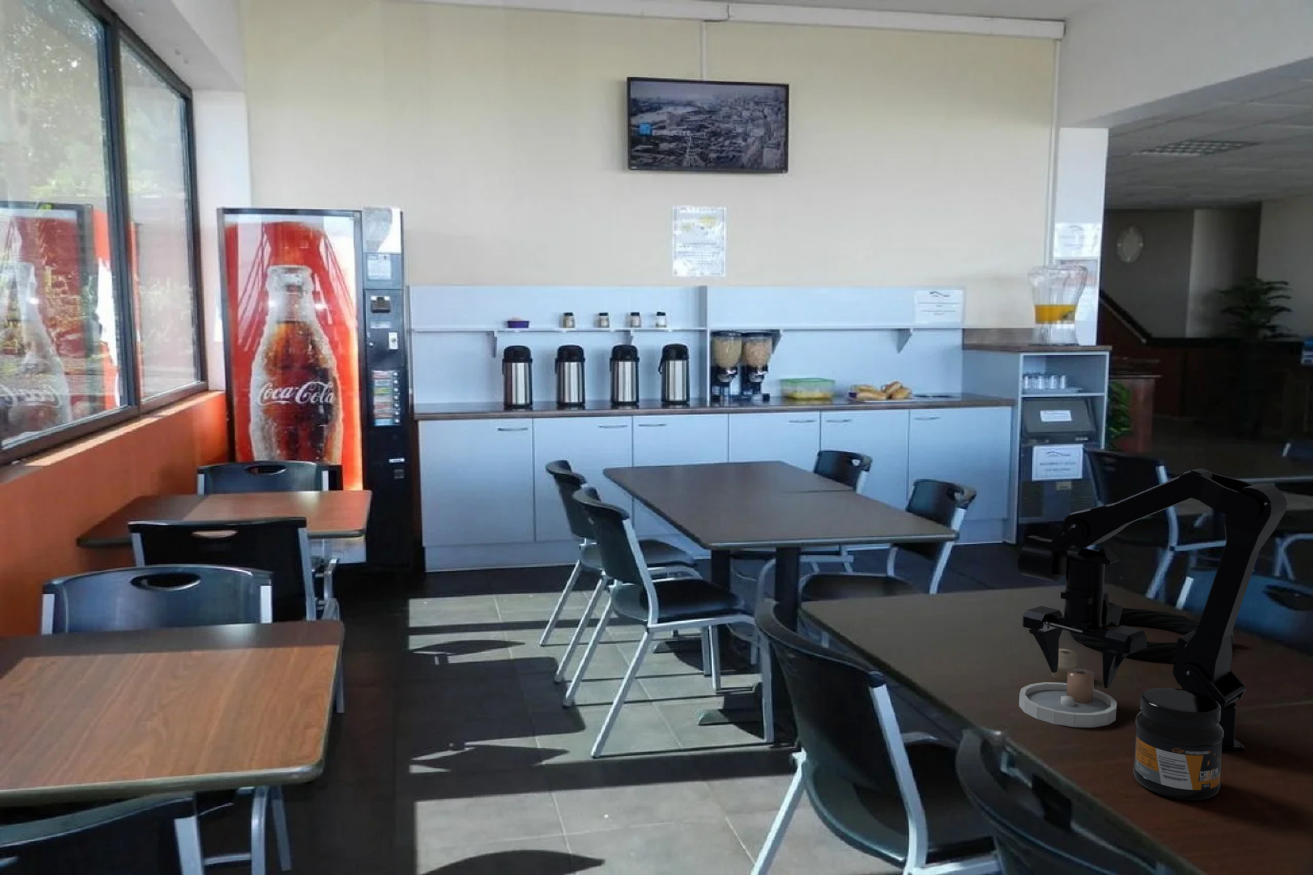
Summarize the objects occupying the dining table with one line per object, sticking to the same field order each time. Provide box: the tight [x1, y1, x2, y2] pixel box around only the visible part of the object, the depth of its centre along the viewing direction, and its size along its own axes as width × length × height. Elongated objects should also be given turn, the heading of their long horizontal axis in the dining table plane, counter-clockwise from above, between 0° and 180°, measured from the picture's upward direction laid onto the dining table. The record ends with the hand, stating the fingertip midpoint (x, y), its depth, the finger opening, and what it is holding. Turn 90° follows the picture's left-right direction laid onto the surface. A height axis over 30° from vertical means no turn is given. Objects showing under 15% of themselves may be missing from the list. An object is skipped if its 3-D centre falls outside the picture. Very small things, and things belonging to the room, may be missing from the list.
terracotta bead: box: [1066, 667, 1095, 703], centre depth 165 cm, size 4×4×4 cm
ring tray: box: [1018, 681, 1118, 728], centre depth 163 cm, size 14×14×2 cm
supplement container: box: [1132, 687, 1224, 801], centre depth 136 cm, size 10×10×12 cm
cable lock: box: [1068, 607, 1235, 662], centre depth 200 cm, size 28×4×30 cm
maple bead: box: [1051, 648, 1078, 682], centre depth 179 cm, size 4×4×5 cm
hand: (1080, 679), depth 165 cm, fingers open, 9 cm apart
